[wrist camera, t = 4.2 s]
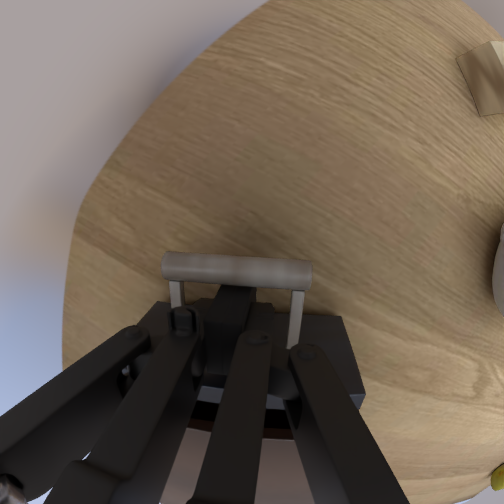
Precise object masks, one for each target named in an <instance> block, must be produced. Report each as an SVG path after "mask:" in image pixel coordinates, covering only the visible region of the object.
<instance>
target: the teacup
mask: <svg viewBox="0 0 504 504" xmlns="http://www.w3.org/2000/svg"><path fill="white" fill-rule="evenodd" d="M492 287H493V295H494V299H495V302H496V305H497V307H498V309H499V311H500V312H501V314H502V315H503V317H504V223H503V225H502V228H501V236H500V243H499V245H498V249H497V252H496V256H495V261H494V267H493V275H492Z"/></svg>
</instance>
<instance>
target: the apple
mask: <svg viewBox="0 0 504 504" xmlns="http://www.w3.org/2000/svg"><path fill="white" fill-rule="evenodd" d="M491 486H492V489H493V490H495V491H497V490H500V489H504V464H503V465H501V466H499V467H498V468H497V469H496V470H495V471H494V472H493V474H492V476H491Z"/></svg>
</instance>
